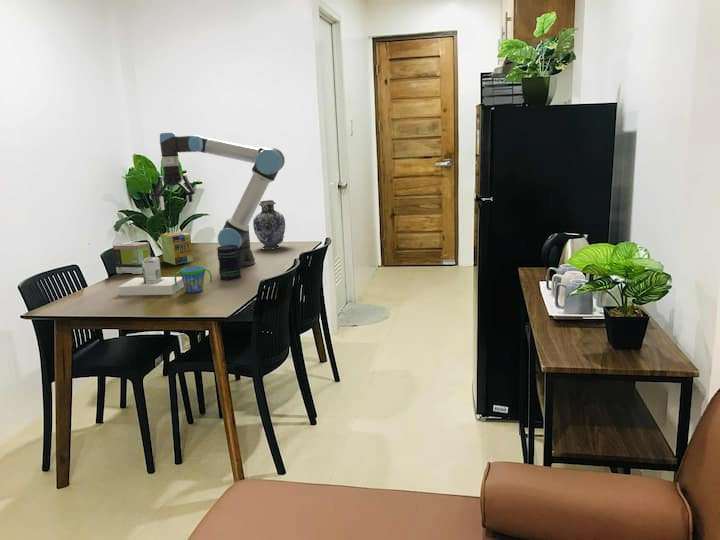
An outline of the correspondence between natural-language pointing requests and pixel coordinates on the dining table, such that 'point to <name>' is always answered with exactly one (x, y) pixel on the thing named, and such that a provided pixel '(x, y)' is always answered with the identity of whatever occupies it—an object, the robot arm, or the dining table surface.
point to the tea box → (130, 257)
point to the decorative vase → (269, 225)
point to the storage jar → (229, 262)
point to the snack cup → (193, 278)
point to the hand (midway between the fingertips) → (176, 209)
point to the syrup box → (151, 270)
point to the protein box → (177, 247)
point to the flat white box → (151, 287)
